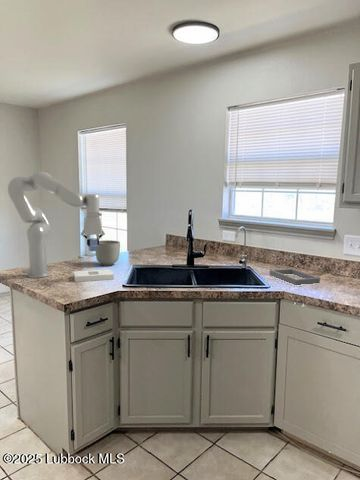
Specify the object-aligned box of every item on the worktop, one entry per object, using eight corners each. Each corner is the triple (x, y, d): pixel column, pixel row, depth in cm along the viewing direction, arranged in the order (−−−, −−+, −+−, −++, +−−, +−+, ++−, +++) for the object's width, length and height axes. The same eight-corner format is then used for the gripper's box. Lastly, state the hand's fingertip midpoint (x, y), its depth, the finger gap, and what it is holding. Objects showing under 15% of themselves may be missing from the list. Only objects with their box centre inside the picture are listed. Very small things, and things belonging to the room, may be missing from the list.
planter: (91, 263, 257) (90, 241, 255) (113, 261, 267) (113, 239, 265) (101, 268, 244) (101, 244, 241) (124, 265, 254) (124, 242, 251)
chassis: (75, 281, 209) (75, 276, 208) (73, 276, 221) (73, 271, 220) (113, 279, 216) (113, 274, 216) (109, 274, 228) (109, 269, 228)
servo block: (88, 249, 221) (87, 237, 220) (95, 248, 223) (95, 236, 222) (91, 252, 211) (90, 239, 210) (98, 251, 213) (98, 239, 212)
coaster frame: (295, 286, 210) (296, 280, 209) (269, 275, 235) (269, 269, 234) (319, 284, 216) (320, 278, 215) (291, 274, 240) (291, 268, 240)
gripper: (105, 214, 221) (105, 244, 223) (77, 215, 214) (77, 245, 217) (108, 215, 214) (108, 246, 216) (78, 216, 207) (79, 247, 210)
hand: (93, 245), depth 217 cm, fingers closed on servo block, 4 cm apart
